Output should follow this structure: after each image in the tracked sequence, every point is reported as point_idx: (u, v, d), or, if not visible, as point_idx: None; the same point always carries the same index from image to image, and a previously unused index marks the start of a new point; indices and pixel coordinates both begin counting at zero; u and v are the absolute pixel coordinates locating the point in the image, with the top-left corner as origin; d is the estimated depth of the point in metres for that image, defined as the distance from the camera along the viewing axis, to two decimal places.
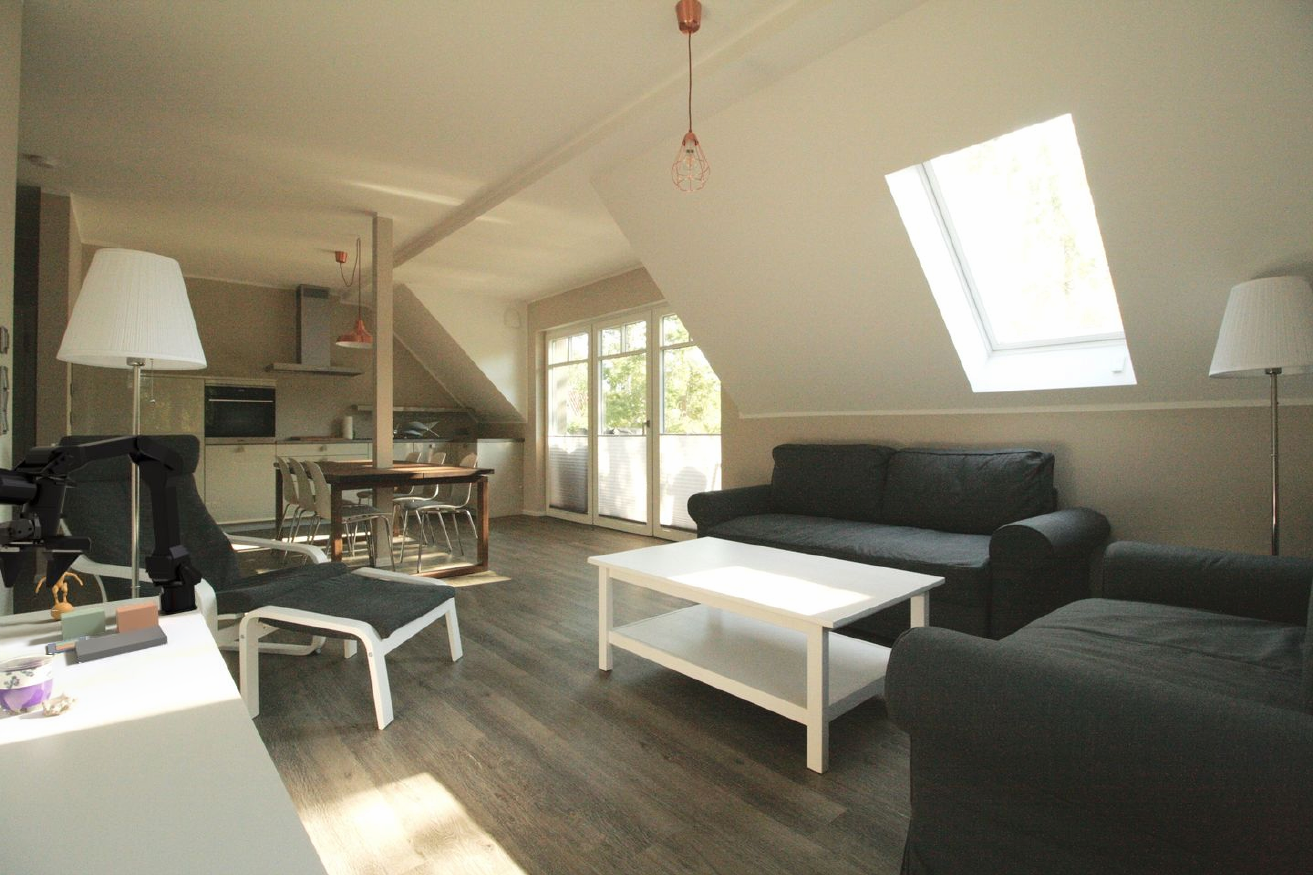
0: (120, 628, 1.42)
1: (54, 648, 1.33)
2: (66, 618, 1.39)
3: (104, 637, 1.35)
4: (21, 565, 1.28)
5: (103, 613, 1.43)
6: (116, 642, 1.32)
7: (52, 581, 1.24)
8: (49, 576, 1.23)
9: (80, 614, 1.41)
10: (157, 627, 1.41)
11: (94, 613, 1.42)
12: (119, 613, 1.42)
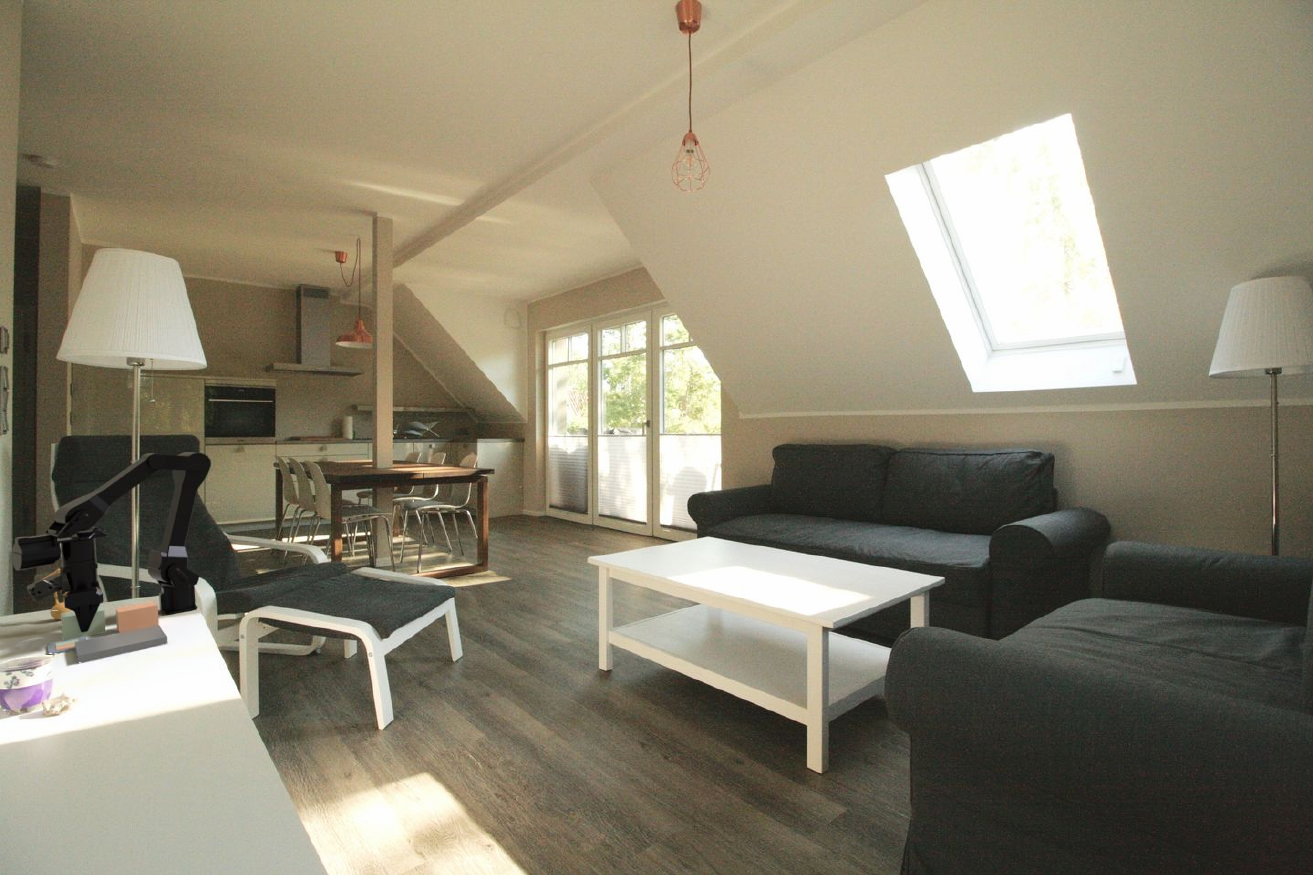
0: (120, 628, 1.42)
1: (54, 648, 1.33)
2: (66, 617, 1.39)
3: (104, 637, 1.35)
4: None
5: (103, 612, 1.43)
6: (116, 642, 1.32)
7: (84, 626, 1.40)
8: (78, 623, 1.39)
9: None
10: (157, 627, 1.41)
11: None
12: (119, 613, 1.42)
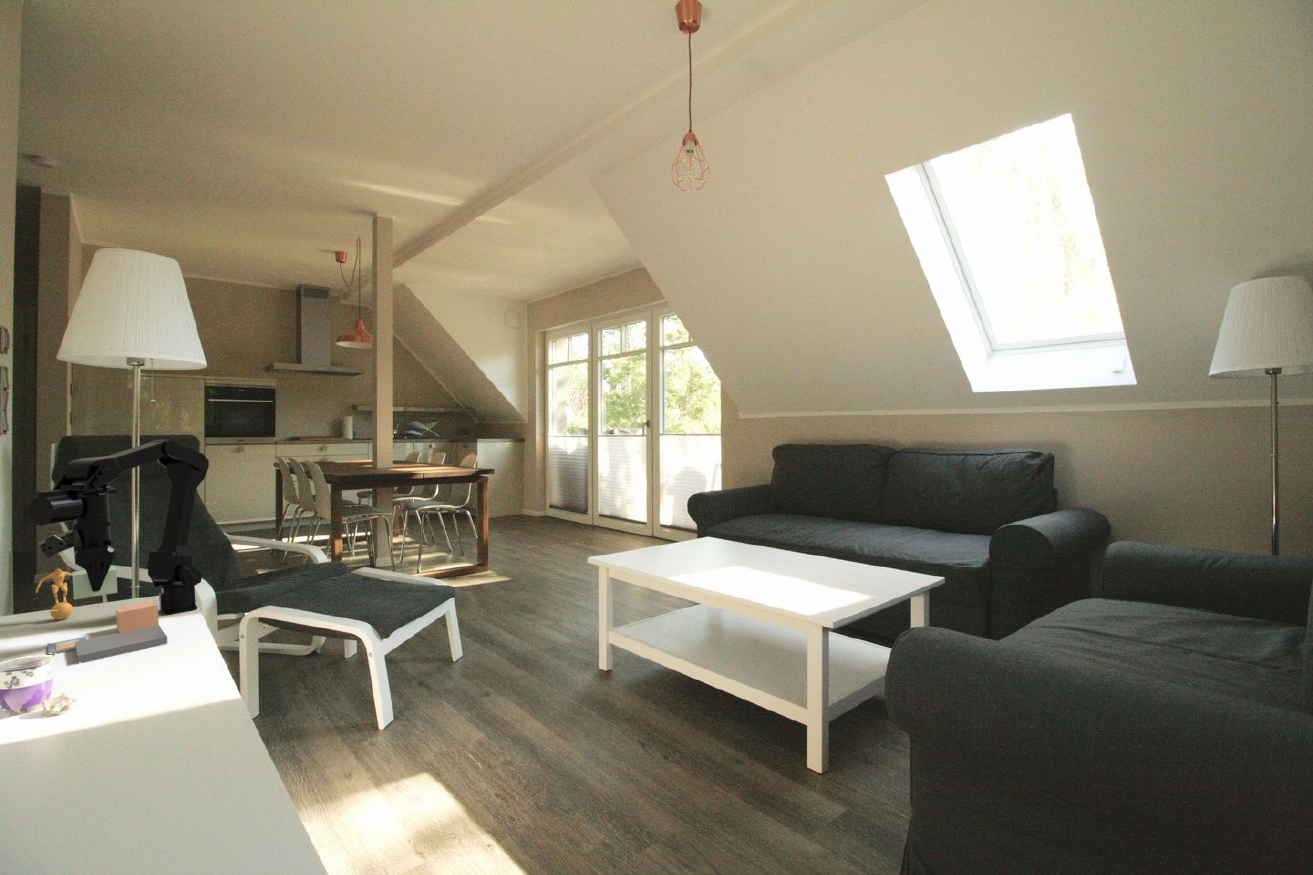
0: (120, 628, 1.42)
1: (54, 648, 1.33)
2: (77, 576, 1.34)
3: (104, 637, 1.35)
4: None
5: (115, 572, 1.38)
6: (116, 642, 1.32)
7: (96, 585, 1.36)
8: None
9: None
10: (157, 627, 1.41)
11: None
12: (119, 613, 1.42)
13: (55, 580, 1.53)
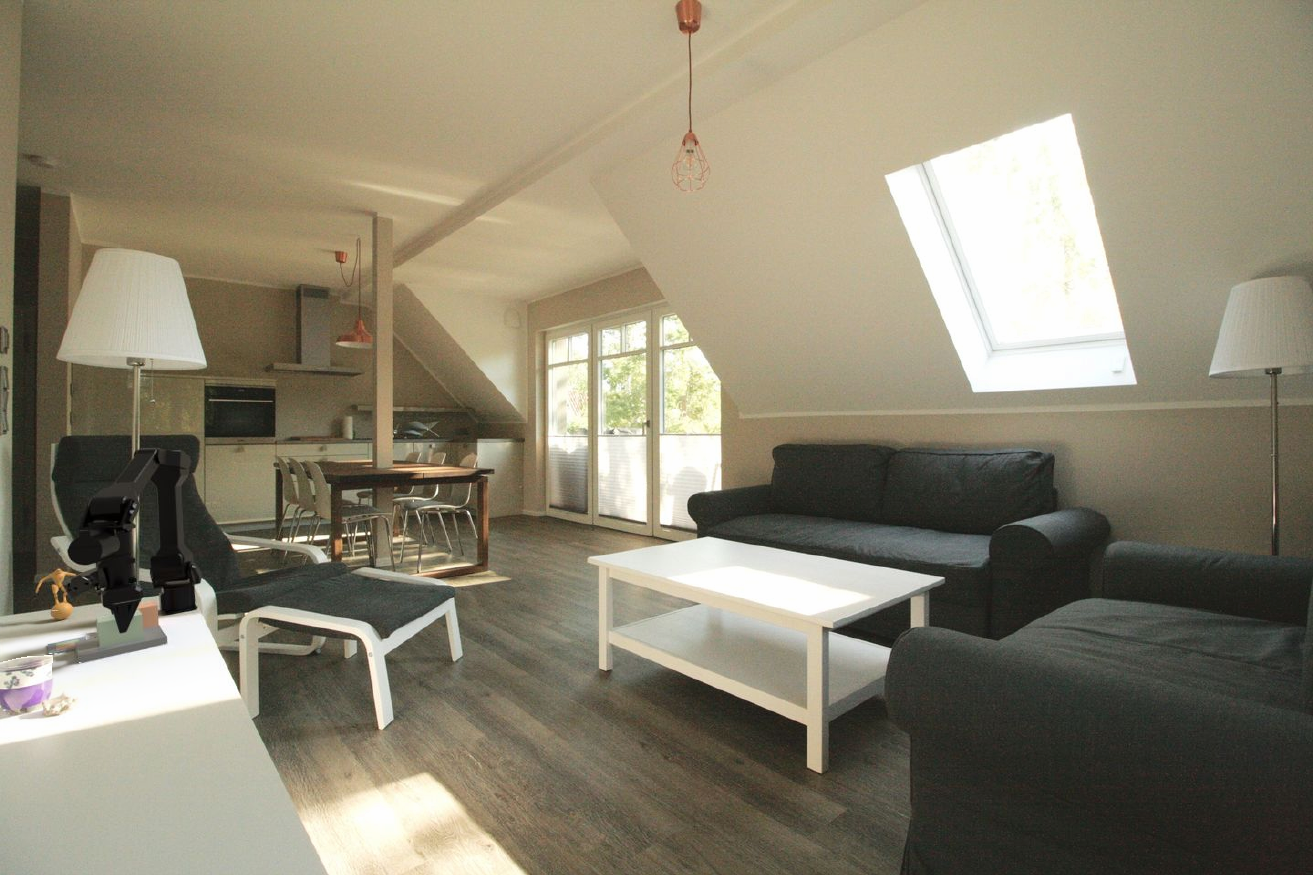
0: None
1: (54, 648, 1.33)
2: (102, 622, 1.30)
3: None
4: None
5: (141, 617, 1.34)
6: None
7: (123, 626, 1.30)
8: (116, 623, 1.29)
9: None
10: (157, 627, 1.41)
11: None
12: None
13: (55, 580, 1.53)
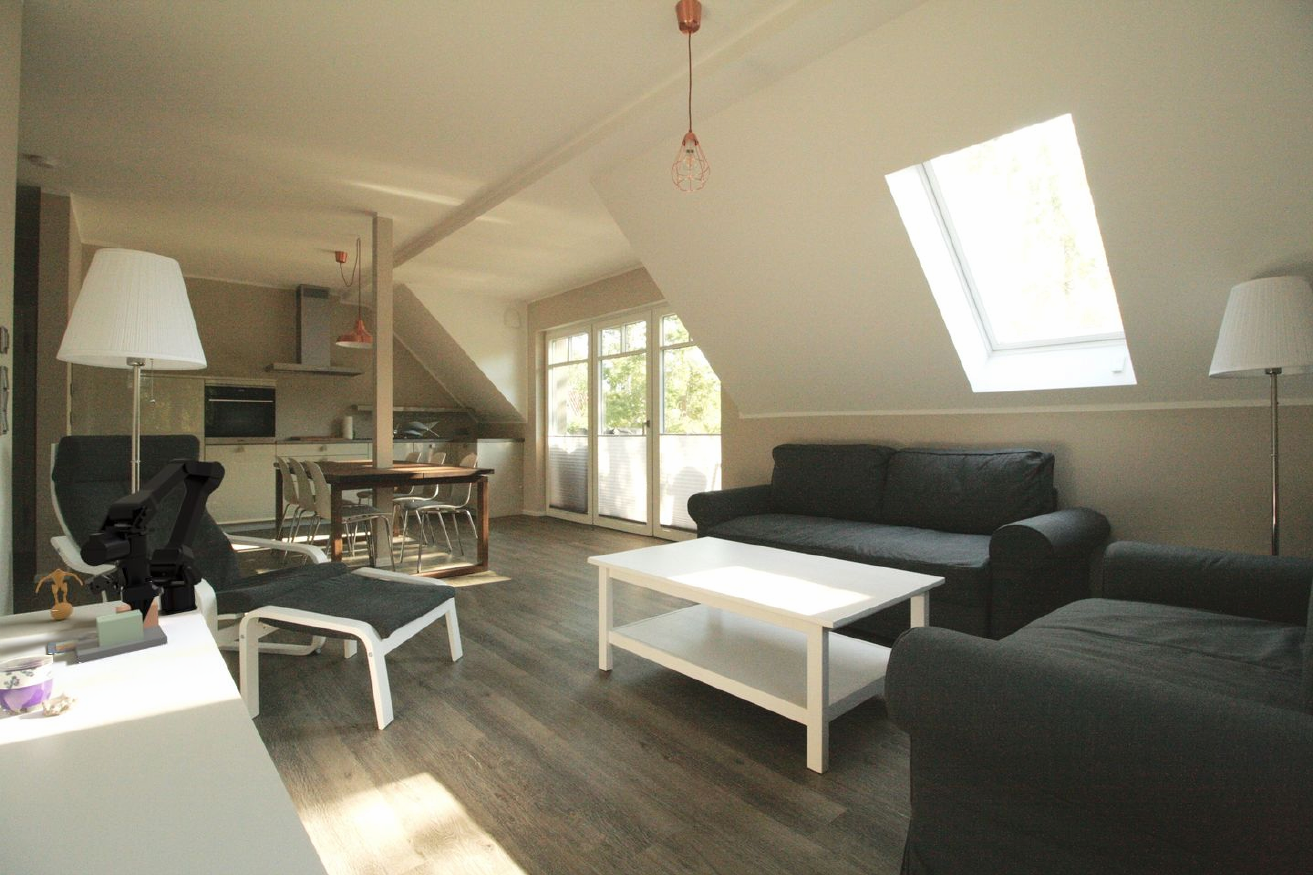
0: None
1: (54, 648, 1.33)
2: (102, 622, 1.30)
3: None
4: None
5: (141, 617, 1.34)
6: None
7: None
8: None
9: (117, 618, 1.32)
10: (157, 627, 1.41)
11: (131, 617, 1.33)
12: (119, 612, 1.42)
13: (55, 580, 1.53)
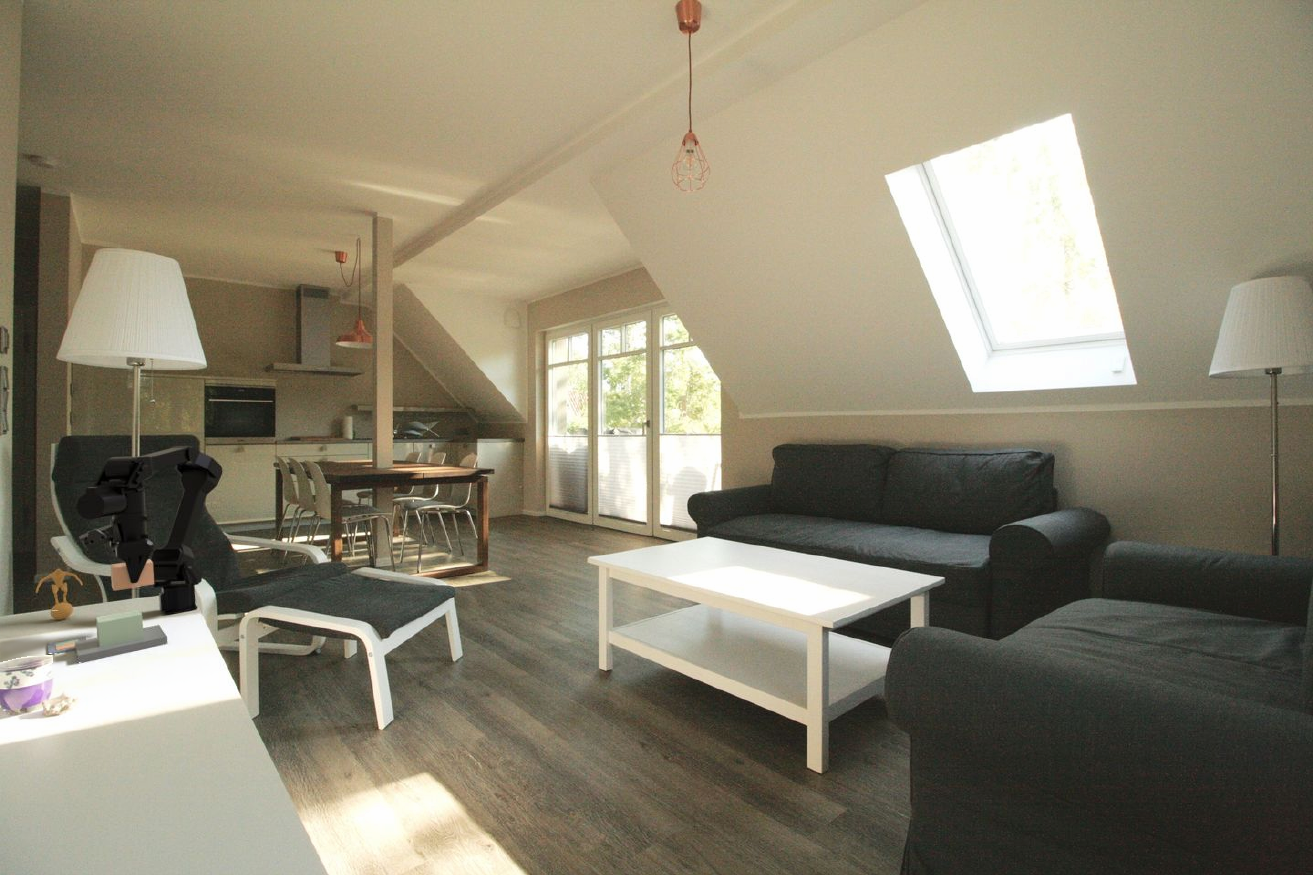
0: (115, 584, 1.40)
1: (54, 648, 1.33)
2: (102, 622, 1.30)
3: None
4: None
5: (141, 617, 1.34)
6: None
7: (134, 577, 1.42)
8: None
9: (117, 618, 1.32)
10: (157, 627, 1.41)
11: (131, 617, 1.33)
12: (114, 569, 1.40)
13: (55, 580, 1.53)
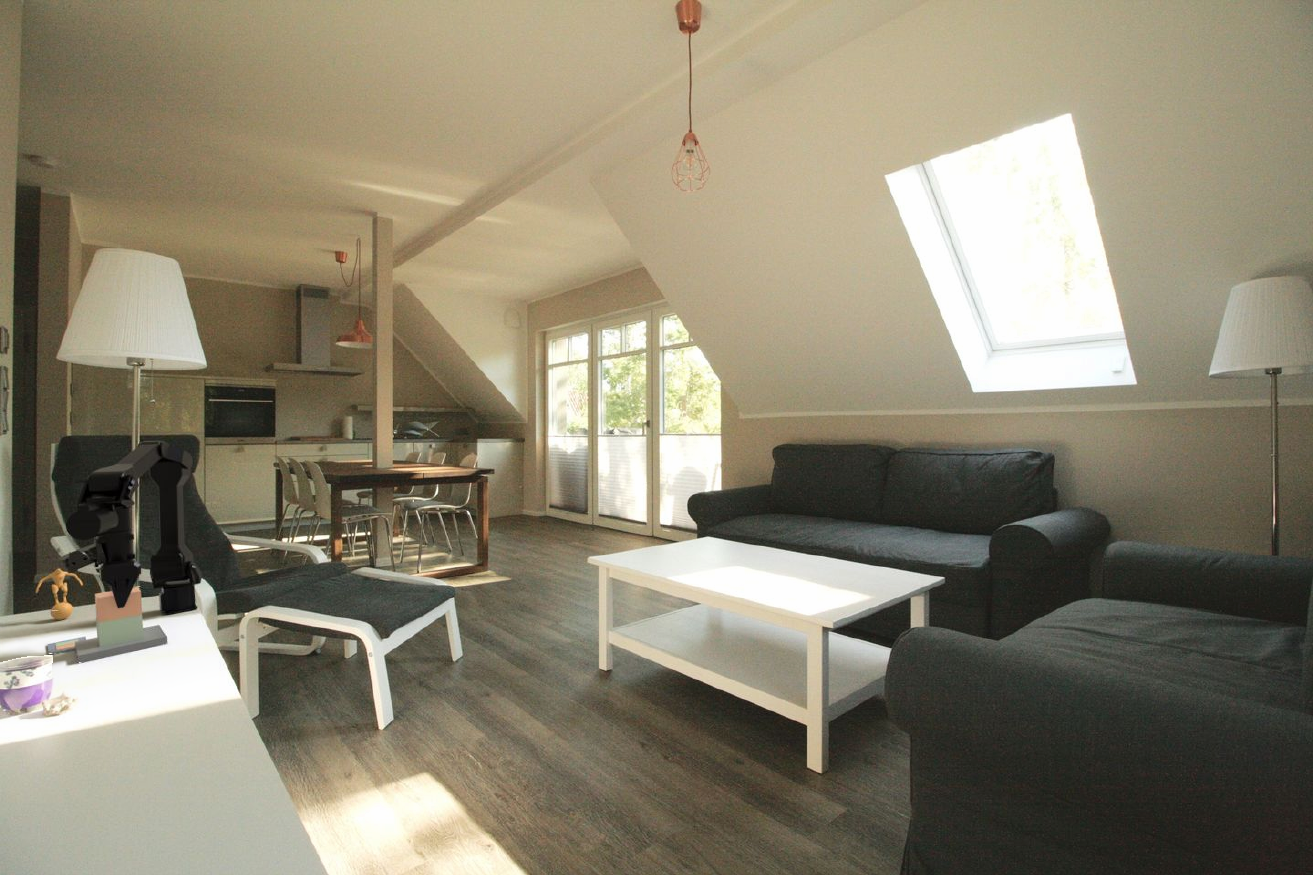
0: (99, 616, 1.30)
1: (54, 648, 1.33)
2: (102, 622, 1.30)
3: None
4: None
5: (141, 617, 1.34)
6: None
7: (121, 601, 1.31)
8: (114, 598, 1.30)
9: None
10: (157, 627, 1.41)
11: (131, 617, 1.33)
12: (98, 599, 1.29)
13: (55, 580, 1.53)
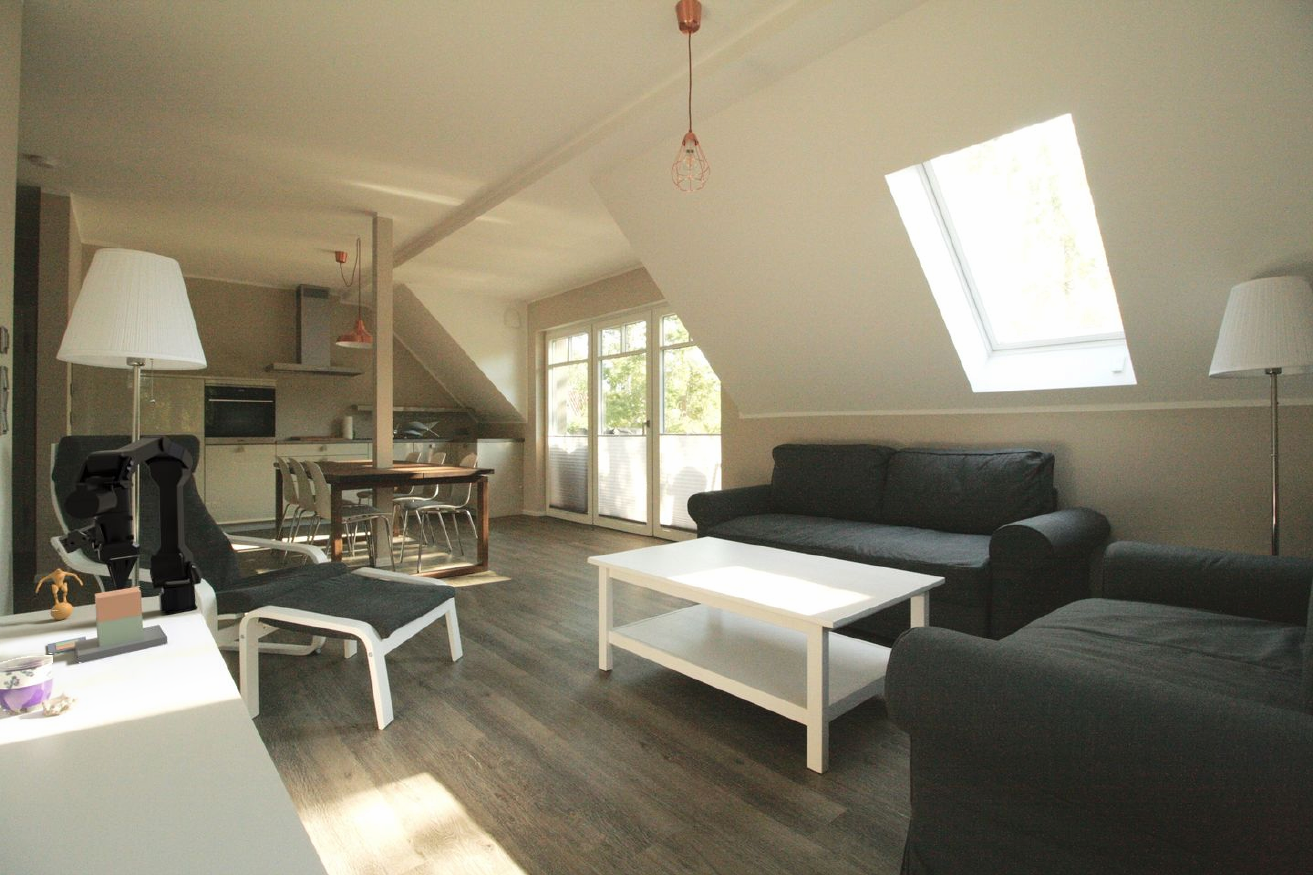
0: (99, 616, 1.30)
1: (54, 648, 1.33)
2: (102, 622, 1.30)
3: None
4: None
5: (141, 617, 1.34)
6: None
7: (120, 583, 1.30)
8: (113, 580, 1.29)
9: None
10: (157, 627, 1.41)
11: (131, 617, 1.33)
12: (98, 599, 1.29)
13: (55, 580, 1.53)
